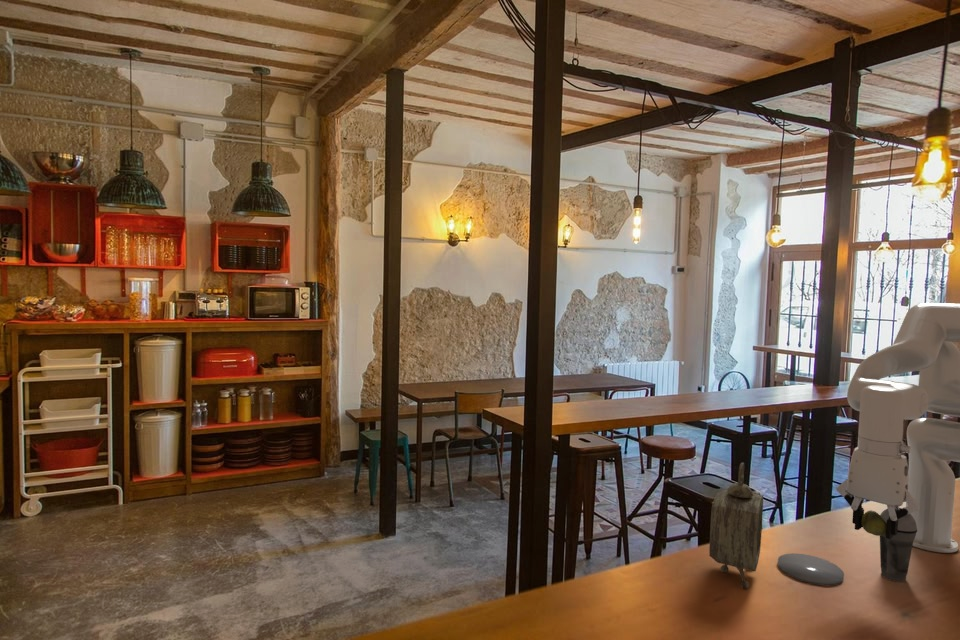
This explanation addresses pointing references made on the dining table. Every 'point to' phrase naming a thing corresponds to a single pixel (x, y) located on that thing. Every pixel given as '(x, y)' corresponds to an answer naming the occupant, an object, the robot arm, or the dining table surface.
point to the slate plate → (810, 569)
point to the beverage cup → (897, 548)
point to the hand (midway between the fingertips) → (874, 531)
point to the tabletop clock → (736, 527)
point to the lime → (873, 523)
